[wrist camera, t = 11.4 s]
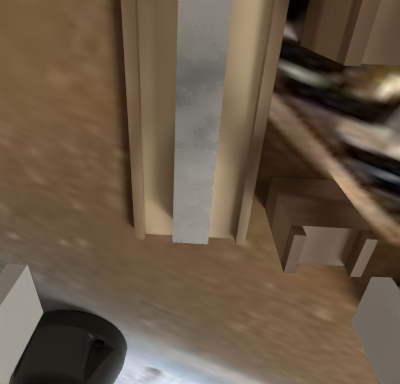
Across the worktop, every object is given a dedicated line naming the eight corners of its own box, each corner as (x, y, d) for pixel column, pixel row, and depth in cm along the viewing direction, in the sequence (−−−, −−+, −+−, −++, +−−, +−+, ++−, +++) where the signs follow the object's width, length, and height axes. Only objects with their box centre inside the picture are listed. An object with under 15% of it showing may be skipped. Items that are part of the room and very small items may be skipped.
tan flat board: (137, 230, 35) (134, 238, 34) (119, -105, 20) (114, -112, 19) (243, 236, 35) (244, 245, 34) (301, -90, 21) (306, -95, 19)
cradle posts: (264, 208, 33) (283, 272, 25) (312, -16, 23) (369, -24, 15) (323, 212, 33) (360, 277, 26) (398, -9, 23) (499, -14, 15)
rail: (175, 220, 34) (172, 242, 31) (183, -62, 21) (179, -72, 18) (207, 222, 34) (207, 244, 31) (234, -58, 21) (239, -67, 18)
